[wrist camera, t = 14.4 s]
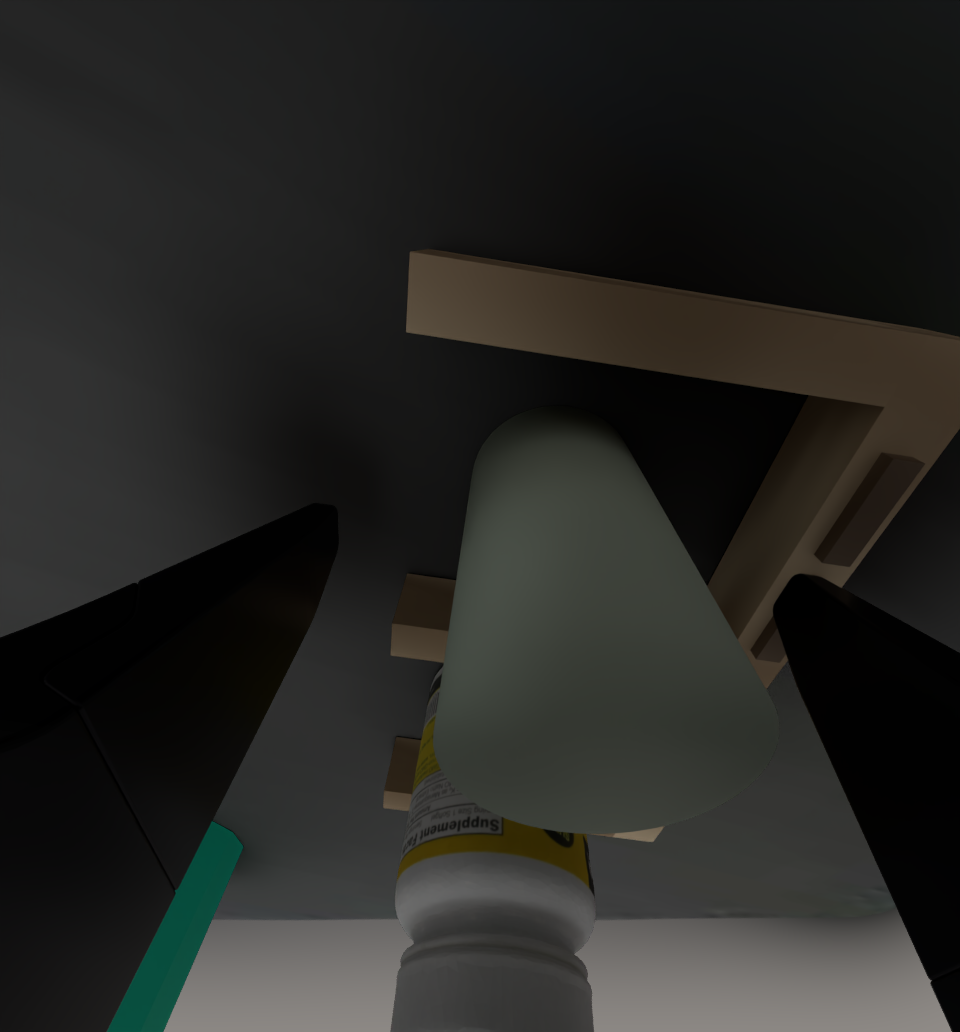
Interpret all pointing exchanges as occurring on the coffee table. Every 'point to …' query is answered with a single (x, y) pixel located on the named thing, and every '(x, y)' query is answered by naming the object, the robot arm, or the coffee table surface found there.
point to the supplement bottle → (488, 915)
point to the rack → (728, 358)
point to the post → (588, 645)
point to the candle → (179, 936)
